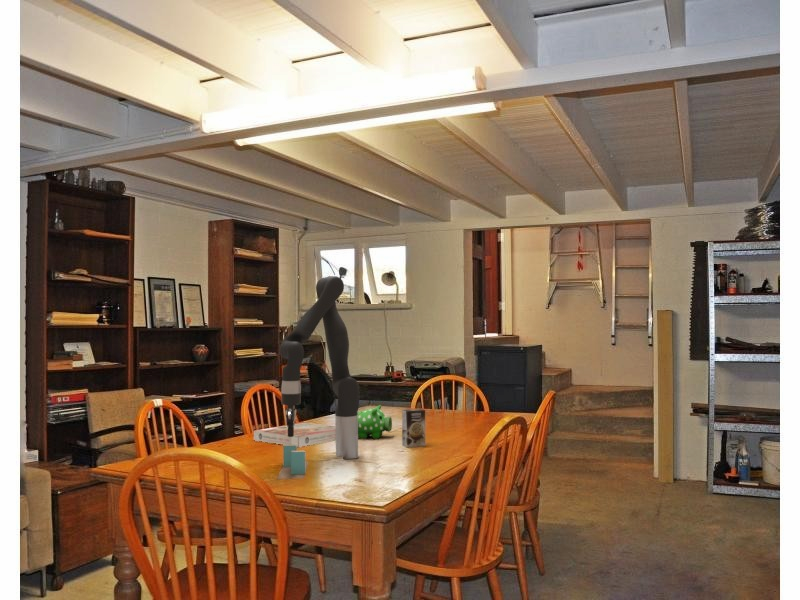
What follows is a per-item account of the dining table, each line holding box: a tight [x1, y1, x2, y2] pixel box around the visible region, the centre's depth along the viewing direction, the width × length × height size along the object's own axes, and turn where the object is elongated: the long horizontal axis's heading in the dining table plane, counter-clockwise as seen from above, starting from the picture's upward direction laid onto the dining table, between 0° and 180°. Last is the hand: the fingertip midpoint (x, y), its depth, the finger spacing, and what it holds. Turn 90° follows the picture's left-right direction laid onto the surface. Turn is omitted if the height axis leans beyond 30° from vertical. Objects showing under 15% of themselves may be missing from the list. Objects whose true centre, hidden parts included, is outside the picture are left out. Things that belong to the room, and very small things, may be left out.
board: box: [276, 461, 310, 480], centre depth 251 cm, size 10×28×1 cm, turn 4°
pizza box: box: [253, 422, 336, 448], centre depth 326 cm, size 32×5×32 cm
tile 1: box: [282, 444, 298, 467], centre depth 258 cm, size 5×2×8 cm, turn 94°
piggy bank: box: [358, 404, 393, 440], centre depth 328 cm, size 14×18×15 cm
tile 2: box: [291, 449, 307, 475], centre depth 245 cm, size 5×2×8 cm, turn 94°
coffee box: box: [401, 408, 426, 448], centre depth 304 cm, size 9×6×16 cm
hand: (290, 436), depth 265 cm, fingers closed
